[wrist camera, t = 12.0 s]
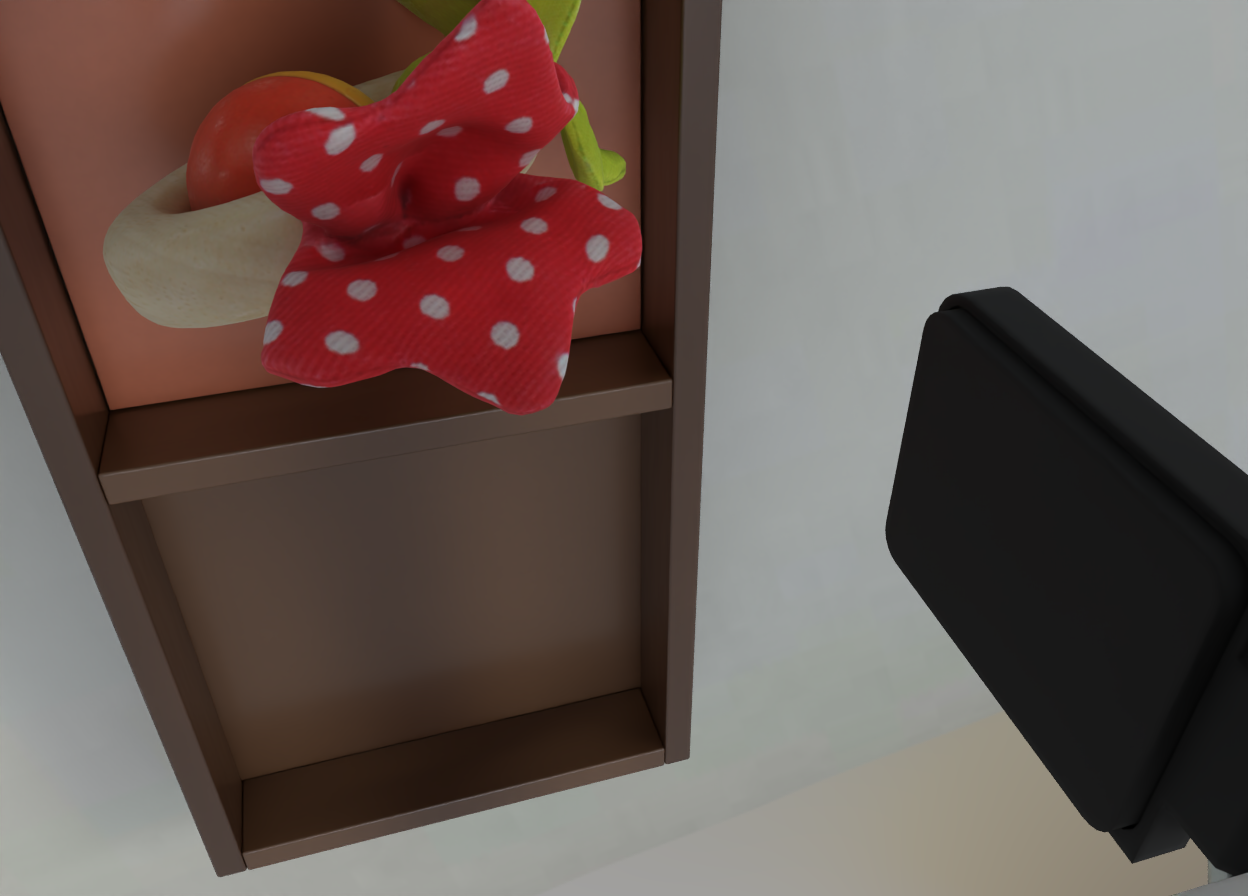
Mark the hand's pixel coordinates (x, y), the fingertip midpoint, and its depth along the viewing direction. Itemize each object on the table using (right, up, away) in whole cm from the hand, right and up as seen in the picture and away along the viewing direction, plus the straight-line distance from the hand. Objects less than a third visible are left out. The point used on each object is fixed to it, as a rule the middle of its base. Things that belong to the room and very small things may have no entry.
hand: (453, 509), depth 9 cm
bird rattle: (-3, +8, +11) cm, 14 cm away
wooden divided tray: (-4, +2, +15) cm, 16 cm away
